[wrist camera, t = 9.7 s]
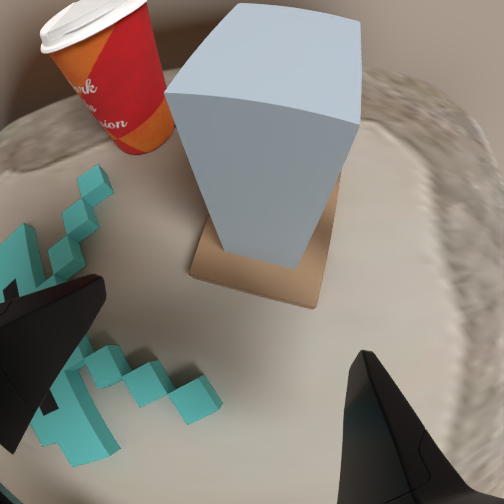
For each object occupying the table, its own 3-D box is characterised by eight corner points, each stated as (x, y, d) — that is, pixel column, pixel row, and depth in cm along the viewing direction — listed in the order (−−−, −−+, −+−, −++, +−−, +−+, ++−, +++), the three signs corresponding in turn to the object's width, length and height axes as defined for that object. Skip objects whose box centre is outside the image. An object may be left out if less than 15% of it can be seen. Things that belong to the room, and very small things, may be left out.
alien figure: (109, 177, 22) (-19, 286, 19) (98, 163, 20) (-33, 282, 17) (223, 401, 16) (46, 470, 14) (218, 409, 14) (32, 476, 12)
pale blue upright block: (295, 269, 17) (360, 124, 5) (224, 251, 18) (163, 92, 6) (314, 186, 19) (360, 21, 7) (250, 171, 19) (238, 2, 7)
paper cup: (104, 125, 23) (43, 19, 10) (174, 92, 24) (138, -28, 11) (114, 181, 21) (22, 56, 8) (198, 142, 22) (155, -13, 8)
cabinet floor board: (312, 309, 18) (327, 300, 14) (193, 278, 18) (174, 260, 14) (337, 175, 20) (352, 142, 16) (236, 153, 21) (232, 116, 17)
